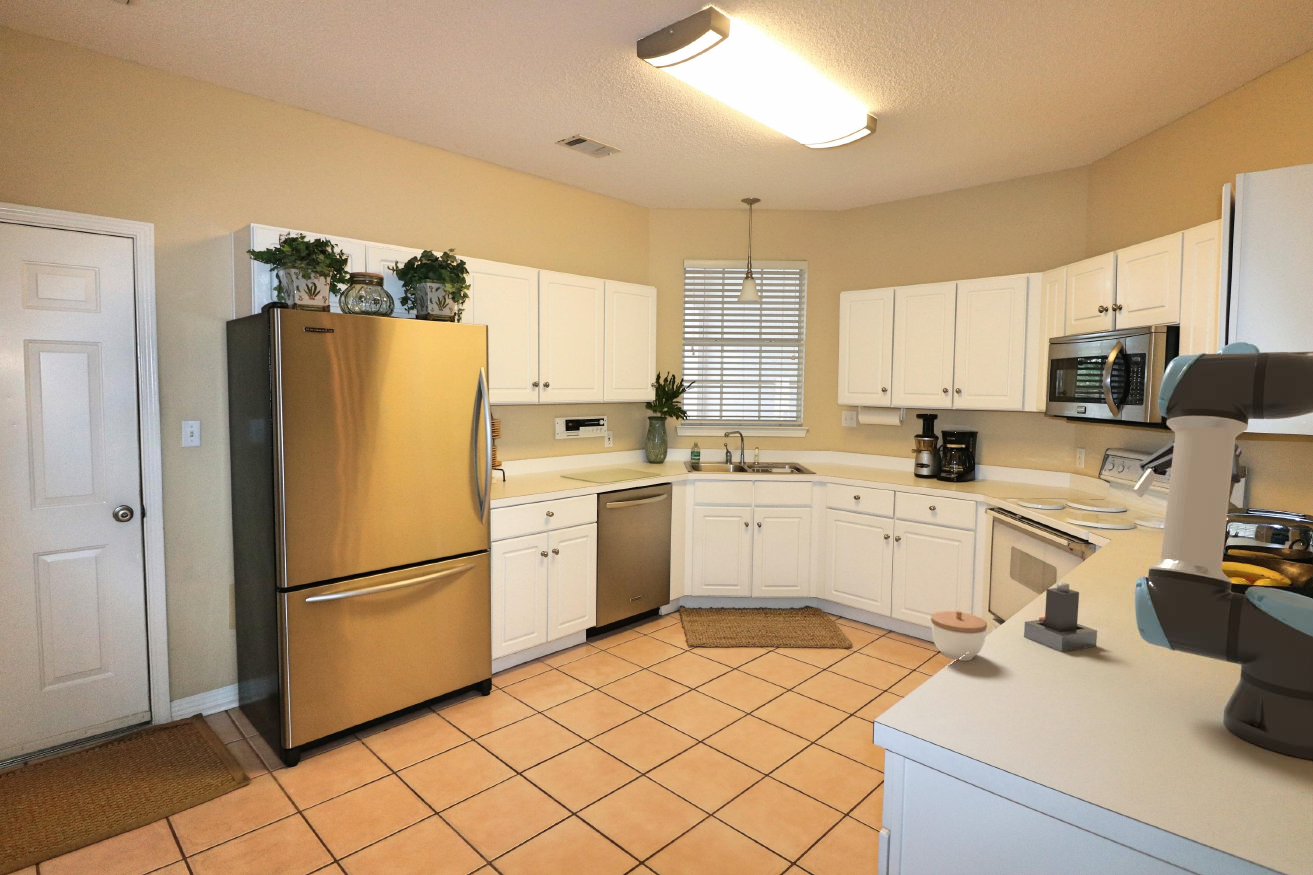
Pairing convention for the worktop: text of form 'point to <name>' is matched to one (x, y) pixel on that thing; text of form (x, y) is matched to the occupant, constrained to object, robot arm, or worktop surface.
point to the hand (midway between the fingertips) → (1168, 497)
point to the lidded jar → (958, 634)
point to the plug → (1061, 608)
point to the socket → (1060, 636)
